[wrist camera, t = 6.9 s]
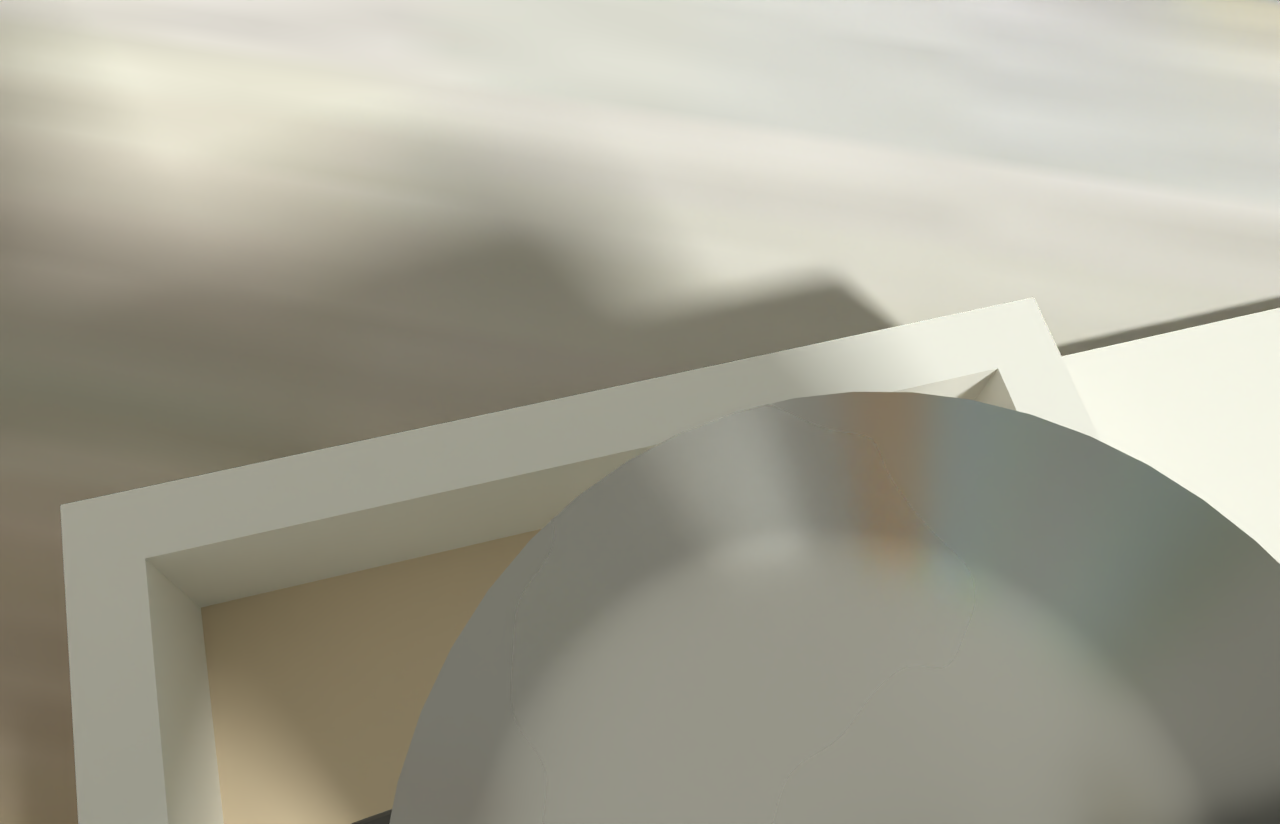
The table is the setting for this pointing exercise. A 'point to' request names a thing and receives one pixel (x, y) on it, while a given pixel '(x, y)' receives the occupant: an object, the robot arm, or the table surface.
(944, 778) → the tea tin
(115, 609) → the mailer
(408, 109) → the table surface
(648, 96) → the table surface
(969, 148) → the table surface
